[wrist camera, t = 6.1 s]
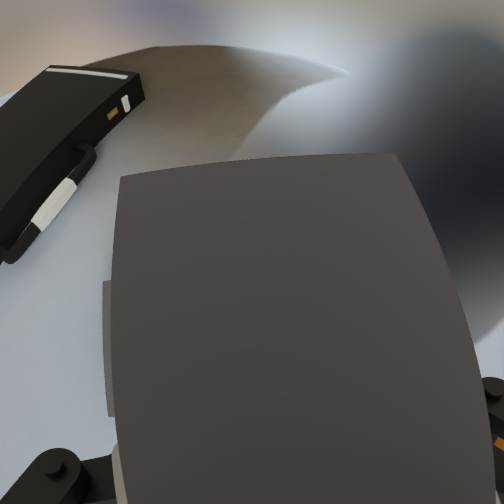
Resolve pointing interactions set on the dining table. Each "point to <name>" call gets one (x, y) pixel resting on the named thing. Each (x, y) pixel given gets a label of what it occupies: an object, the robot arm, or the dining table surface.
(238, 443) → the grey rectangular block
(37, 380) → the dining table surface
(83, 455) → the dining table surface
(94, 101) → the briefcase
